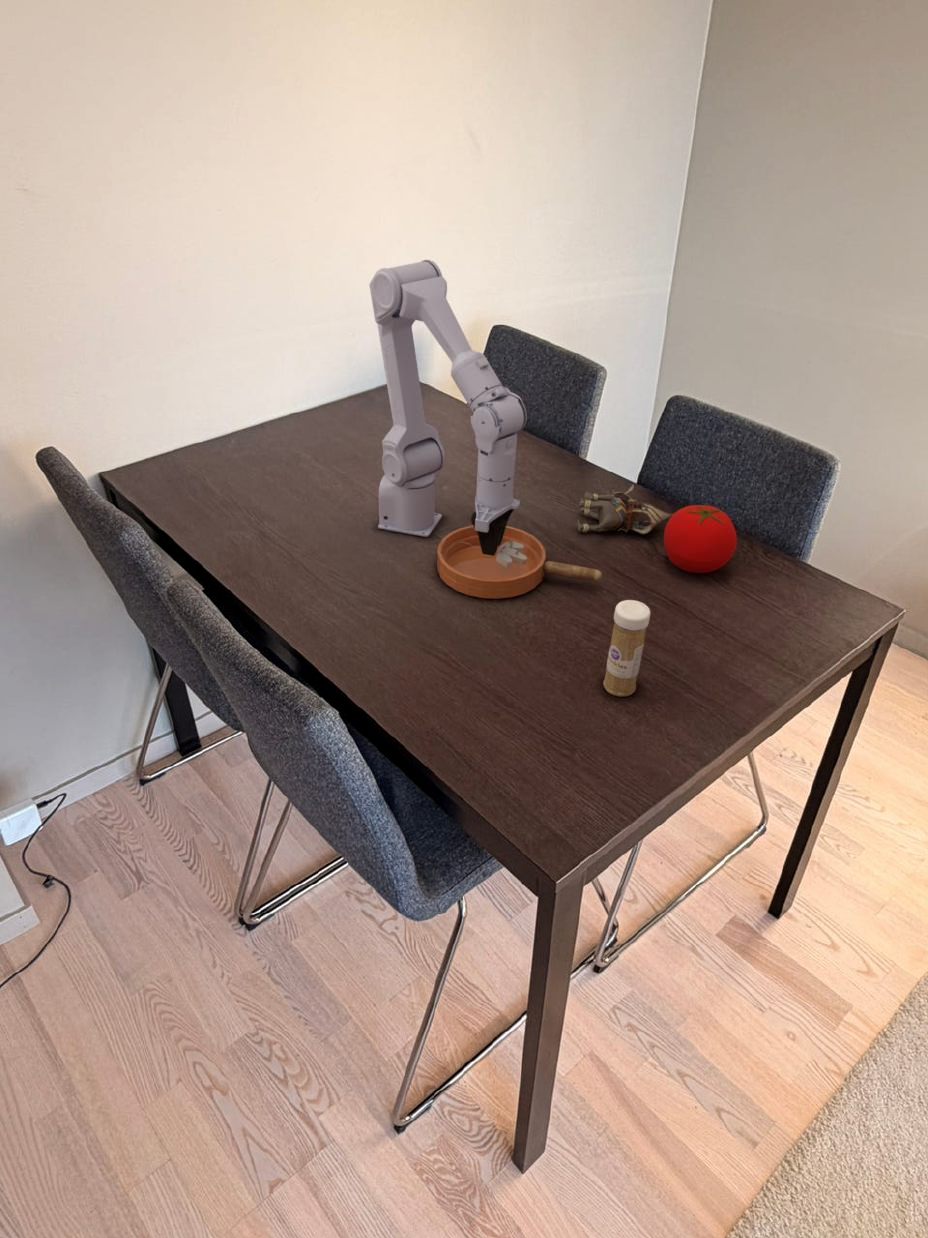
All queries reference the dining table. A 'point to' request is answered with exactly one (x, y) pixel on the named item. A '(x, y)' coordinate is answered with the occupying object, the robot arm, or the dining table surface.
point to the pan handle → (572, 571)
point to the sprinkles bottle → (626, 647)
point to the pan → (489, 565)
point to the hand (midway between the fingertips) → (491, 548)
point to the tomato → (699, 539)
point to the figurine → (619, 512)
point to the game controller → (510, 553)
